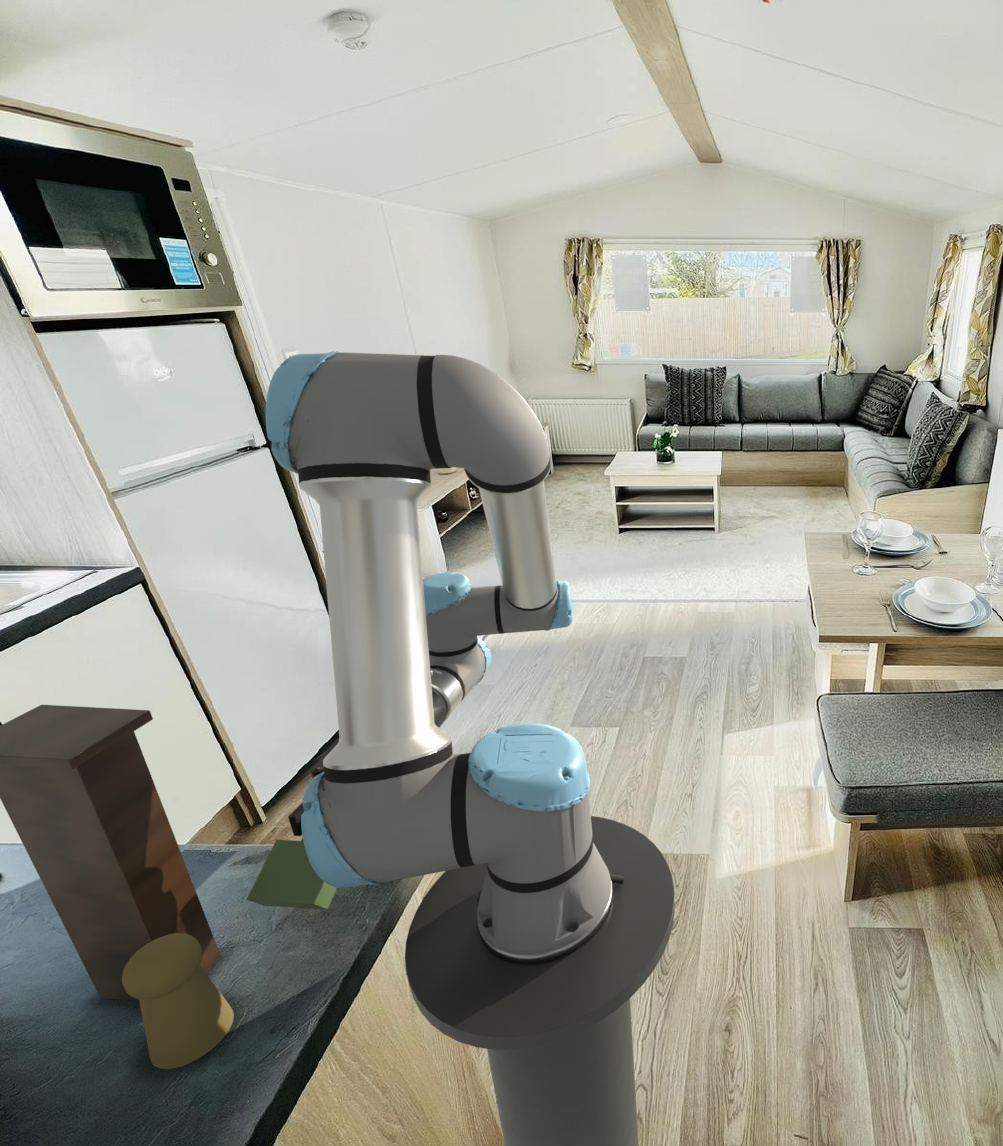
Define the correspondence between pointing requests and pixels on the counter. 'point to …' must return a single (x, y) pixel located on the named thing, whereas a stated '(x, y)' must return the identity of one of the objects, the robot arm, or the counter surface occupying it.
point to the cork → (176, 1000)
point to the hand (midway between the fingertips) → (308, 827)
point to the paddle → (290, 880)
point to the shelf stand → (99, 835)
